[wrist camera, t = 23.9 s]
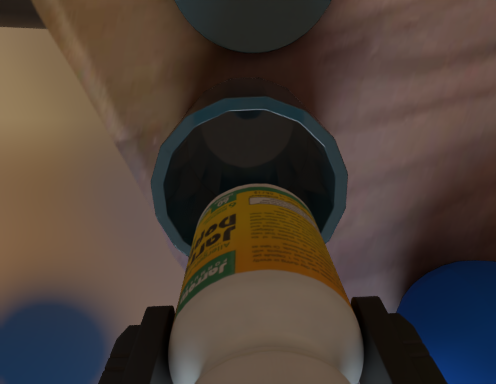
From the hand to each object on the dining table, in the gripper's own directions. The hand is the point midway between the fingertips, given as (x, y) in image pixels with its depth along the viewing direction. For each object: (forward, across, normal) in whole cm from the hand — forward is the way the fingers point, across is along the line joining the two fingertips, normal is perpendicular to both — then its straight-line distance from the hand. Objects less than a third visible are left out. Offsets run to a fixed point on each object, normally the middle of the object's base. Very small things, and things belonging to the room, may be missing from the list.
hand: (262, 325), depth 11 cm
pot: (+25, 0, +1) cm, 25 cm away
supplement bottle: (+6, 0, 0) cm, 6 cm away
